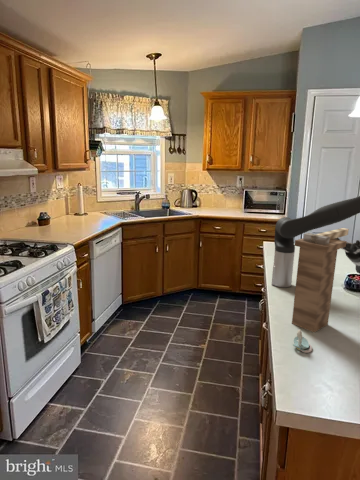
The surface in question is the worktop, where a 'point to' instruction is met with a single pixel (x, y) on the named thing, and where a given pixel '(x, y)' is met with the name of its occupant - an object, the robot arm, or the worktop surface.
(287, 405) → the worktop surface
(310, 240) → the beige block
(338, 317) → the worktop surface
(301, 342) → the pacifier
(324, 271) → the stand
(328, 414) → the worktop surface
